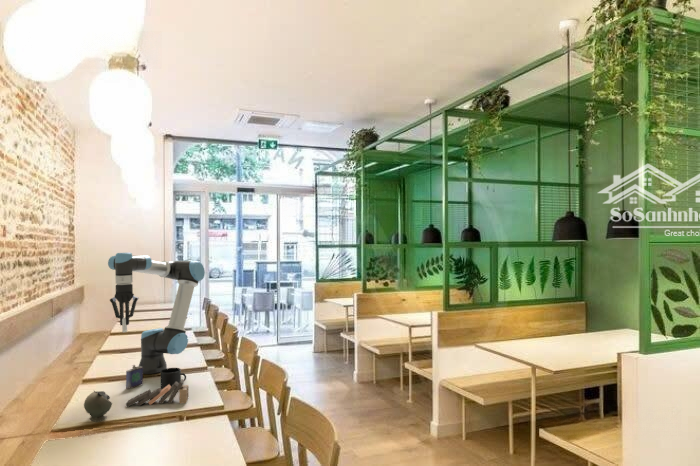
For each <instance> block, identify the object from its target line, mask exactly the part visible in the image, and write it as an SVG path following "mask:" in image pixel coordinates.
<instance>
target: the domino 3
mask: <svg viewBox="0 0 700 466" xmlns="http://www.w3.org/2000/svg"><path fill="white" fill-rule="evenodd" d="M170 388H171V386H170V385H167V386H166V387H165V388H164V389H162V390H161V392H160V394H158V395H156V396H155V397H153V398H151V399H150V400H148V401H147V403H148V404H149V405H150V406H152V405H153V404H154V403H155V402H156V401H158V400H160V399H161V398H162V397H163V395H164V394H165V393H167V392H168V391H169V390H170Z"/></svg>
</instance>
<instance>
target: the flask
mask: <svg viewBox="0 0 700 466" xmlns="http://www.w3.org/2000/svg"><path fill="white" fill-rule="evenodd" d="M143 375H144V374H143V367H141V366H140V367H139V365H138V366H136V365H135V364H133V365H132V368H130V369H127V370H125V388H126V389H127V390H128V389H133V388H136V387H139V386H142V385H143V383H144V381H143V380H144V379H143V378H144V377H143Z"/></svg>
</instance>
